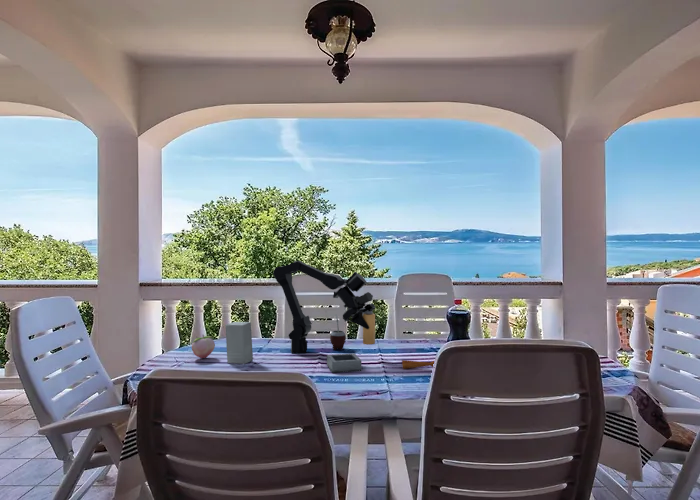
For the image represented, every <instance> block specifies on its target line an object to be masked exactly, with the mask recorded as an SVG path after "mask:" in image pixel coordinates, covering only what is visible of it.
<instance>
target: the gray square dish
mask: <svg viewBox="0 0 700 500" xmlns="http://www.w3.org/2000/svg"><path fill="white" fill-rule="evenodd" d="M326 366H327V367H328V369H329V370H330V372H331V373H332V374H337V373H338V374H340V373H351V372H352V373H354V372H362V359H361V358H360V357H359V356H358V355H357V354H356V353H339V354H326Z"/></svg>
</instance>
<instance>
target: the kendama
mask: <svg viewBox="0 0 700 500" xmlns="http://www.w3.org/2000/svg"><path fill="white" fill-rule="evenodd" d="M433 364H434V360H433V361H431V362H430V361H429V362H427V361H425V362H424V361H415V360H407V359H405V360H404V359H402V360H401V365H402V366H401V368H402V370H408V369H414V368H422V367H429V366H430V367H433ZM433 368H434V367H433Z"/></svg>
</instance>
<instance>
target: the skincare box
mask: <svg viewBox="0 0 700 500" xmlns="http://www.w3.org/2000/svg"><path fill="white" fill-rule="evenodd" d="M224 327H225V343H226V344H225V345H226V359H227V362H226V363H227V364H239V365H246V364H247V363H250V362H253V359H254V356H253V355H254V354H253V337H252V322H251V321H233V322H229V323H227V324H225V326H224Z"/></svg>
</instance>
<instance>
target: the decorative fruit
mask: <svg viewBox="0 0 700 500" xmlns="http://www.w3.org/2000/svg"><path fill="white" fill-rule="evenodd" d="M215 348H216V343H215V340H214V336H210V335H205V336H204V334H202V337H197V338H195V339H194V340H193V341H192V343H191V351H192V353H193V355H194V356H195V357H198V358H199V359H202V358H204V359H206V358H207V357H208V356H210V355H211V354H212V353H213V351H214V350H215Z"/></svg>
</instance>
